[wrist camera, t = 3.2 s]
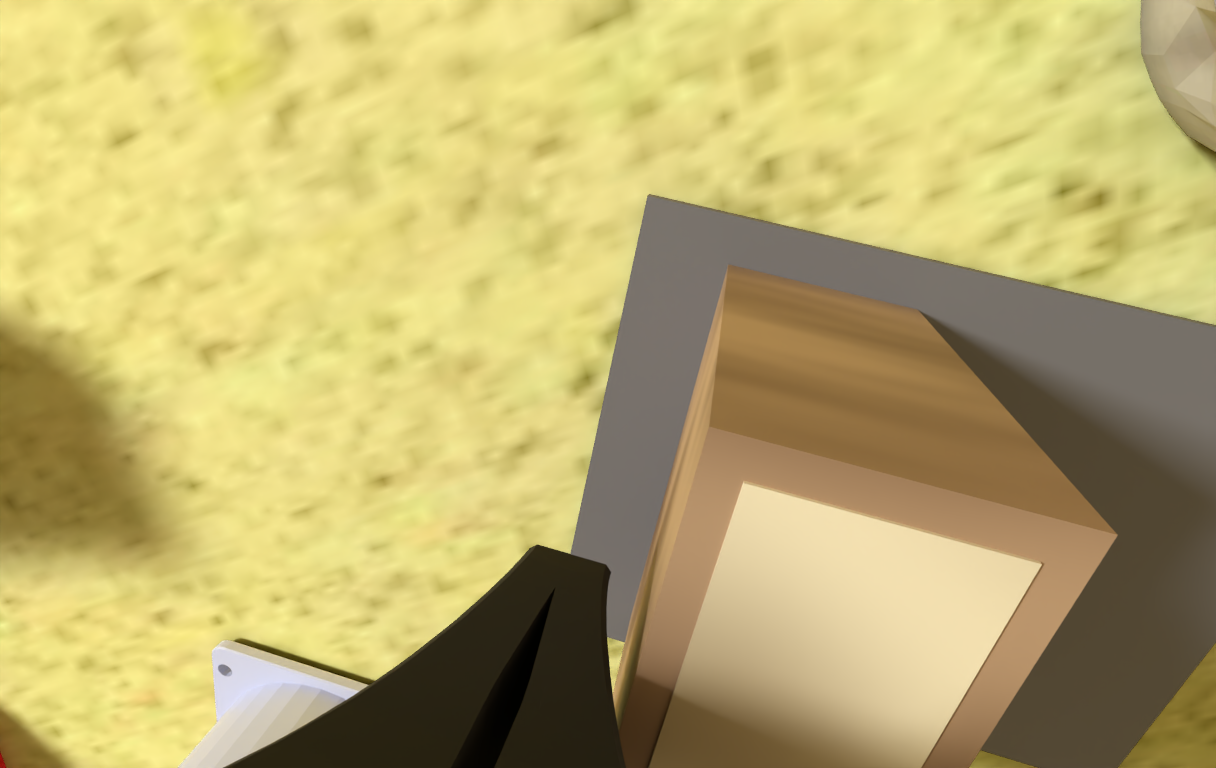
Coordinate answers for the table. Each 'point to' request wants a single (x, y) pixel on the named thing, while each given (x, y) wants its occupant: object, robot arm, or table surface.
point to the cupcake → (1183, 62)
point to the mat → (1029, 390)
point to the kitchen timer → (2, 762)
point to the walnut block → (844, 548)
